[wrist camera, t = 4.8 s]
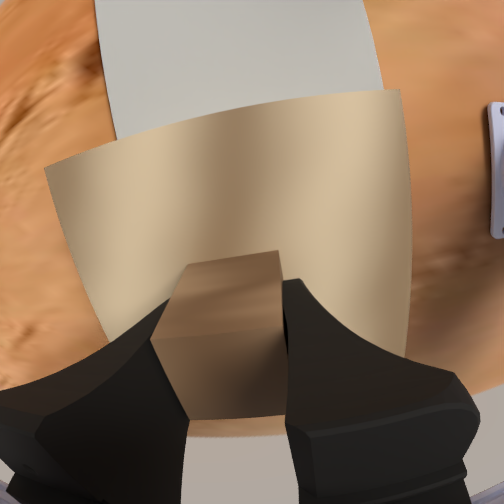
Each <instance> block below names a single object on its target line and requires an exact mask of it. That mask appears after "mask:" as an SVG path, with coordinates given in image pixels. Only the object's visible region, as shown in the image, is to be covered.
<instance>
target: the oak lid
mask: <svg viewBox="0 0 504 504" xmlns="http://www.w3.org/2000/svg"><path fill="white" fill-rule="evenodd" d="M44 170H45V174H46V177H47V181H48V185H49V188H50V192H51V195H52V199H53V202H54V205H55V208H56V212H57V215H58V218H59V221H60V224H61V227H62V230H63V233H64V236H65V239H66V241H67V244H68V247H69V250H70V252H71V255H72V258H73V260H74V263H75V265H76V268H77V271H78V273H79V276H80V278H81V280H82V283H83V285H84V288H85V290H86V292H87V295H88V297H89V299H90V302H91V304H92V306H93V308H94V310H95V313H96V315H97V317H98V319H99V321H100V323H101V325H102V328H103V330H104V332H105V334H106V336H107V338H108V340H109V342H110V343H111V342H112V341H113V340H115V339H116V338H118V337H119V336H120V335H122V334H123V333H124V332H126V331H127V330H128V329H130V328H131V327H133V326H134V325H135V324H136V323H138V322H139V321H140V320H141V319H143V318H144V317H145V316H146V315H148V314H149V313H150V312H152V311H153V310H154V309H155V308H157V307H158V306H159V305H160V304H162V303H163V302H165V301H166V300H167V299H169V298H170V300H169V302H168V304H167V306H166V308H165V310H164V312H163V314H162V316H161V318H160V320H159V322H158V324H157V326H156V328H155V330H154V332H153V334H152V336H151V338H150V341H151V343H152V345H153V347H154V349H155V352H156V354H157V356H158V358H159V360H160V362H161V365H162V367H163V369H164V371H165V373H166V375H167V377H168V379H169V381H170V383H171V385H172V387H173V389H174V391H175V393H176V395H177V397H178V399H179V401H180V403H181V405H182V407H183V408H184V410H185V412H186V414H187V416H188V418H189V420H214V419H237V418H253V417H266V416H276V415H286V404H287V391H288V334H287V328H286V322H285V316H284V310H283V304H282V282H283V281H284V280H290V279H297V278H300V279H301V280H302V281H303V282H304V284H305V285H306V287H307V288H308V290H309V291H310V292H311V293H312V295H313V296H314V297H315V298H316V299H317V300H318V302H319V303H320V304H321V305H322V306H323V307H324V308H325V309H326V310H327V311H328V312H329V313H330V314H331V315H333V316H334V317H335V318H336V319H337V320H338V321H340V322H341V323H342V324H343V325H344V326H346V327H347V328H348V329H350V330H351V331H353V332H354V333H356V334H357V335H358V336H360V337H362V338H363V339H365V340H367V341H369V342H371V343H373V344H374V345H376V346H378V347H380V348H382V349H384V350H386V351H389V352H391V353H393V354H395V355H398V356H401V357H403V358H404V357H405V350H406V341H407V332H408V321H409V309H410V295H411V275H412V202H411V182H410V168H409V156H408V145H407V136H406V128H405V120H404V113H403V106H402V99H401V93H400V89H391V90H371V91H357V92H345V93H334V94H325V95H316V96H308V97H300V98H293V99H286V100H280V101H274V102H268V103H262V104H256V105H251V106H246V107H240V108H236V109H231V110H226V111H221V112H217V113H212V114H208V115H204V116H199V117H195V118H191V119H187V120H183V121H180V122H176V123H172V124H168V125H165V126H161V127H158V128H154V129H151V130H147V131H144V132H141V133H138V134H134V135H131V136H128V137H125V138H122V139H119V140H116V141H113V142H110V143H107V144H104V145H101V146H99V147H96V148H93V149H90V150H88V151H85V152H82V153H80V154H77V155H74V156H72V157H69V158H67V159H64V160H62V161H59V162H57V163H54V164H52V165H50V166H47V167H45V168H44Z"/></svg>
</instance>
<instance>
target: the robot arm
mask: <svg viewBox="0 0 504 504" xmlns="http://www.w3.org/2000/svg"><path fill="white" fill-rule="evenodd" d="M500 108H501V109H502V114H501V113H500ZM487 111H488V120H489V130H490V143H491V162H492V210H491V229H490V232H491V235H492V236H493V237H494V238H495V239H501V238H504V230H503V232H502V229H503V227H504V103H502V102H490V103H489V104H488V108H487ZM169 300H170V298H169V299H167V300H166V301H165V302H163V303H162V304H160V305H159V306H158V307H157V308H155V309H154V310H153V311H152V312H150V313H149V314H148V315H146V316H145V317H144V318H143V319H141V320H140V321H139V322H138V323H136V324H135V325H134V326H133V327H131V328H130V329H128V330H127V331H126V332H124V333H123V334H122V335H120V336H119V337H118V338H116V339H115V340H113V341H112V342H111V343H109V344H108V345H106V346H105V347H103V348H102V349H100V350H98V351H97V352H95V353H93V354H92V355H90V356H88V357H87V358H85V359H83V360H81V361H79V362H77V363H75V364H73V365H71V366H69V367H67V368H65V369H63V370H61V371H59V372H57V373H54V374H52V375H49V376H47V377H44V378H42V379H39V380H36V381H33V382H31V383H28V384H24V385H21V386H17V387H14V388H10V389H6V390H2V391H0V459H1V460H2V461H3V462H4V463H5V464H7V466H8V467H9V468H10V469H12V470H13V471H14V472H15V474H14V476H13V477H12V479H11V481H10V483H9V484H7V483H5V482H3V481H1V480H0V504H181V485H182V473H183V462H184V452H185V444H186V437H187V431H188V426H189V422H190V420H189V418H188V416H187V414H186V412H185V410H184V408H183V407H182V405H181V403H180V401H179V399H178V397H177V395H176V393H175V391H174V389H173V387H172V385H171V383H170V381H169V379H168V377H167V375H166V373H165V371H164V369H163V367H162V365H161V362H160V360H159V358H158V356H157V354H156V352H155V349H154V347H153V345H152V343H151V341H150V338H151V336H152V334H153V332H154V330H155V328H156V326H157V324H158V322H159V320H160V318H161V316H162V314H163V312H164V310H165V308H166V306H167V304H168V302H169ZM282 304H283V310H284V316H285V322H286V328H287V334H288V391H287V404H286V415H285V427H286V431H287V436H288V440H289V445H290V449H291V454H292V459H293V463H294V468H295V472H296V476H297V481H298V486H299V504H504V481H503V482H501V483H499V484H497V485H495V486H493V487H491V488H489V489H487V490H485V491H482V492H480V493H478V494H476V495H473V496H471V497H469V494H468V491H467V488H466V485H465V482H464V478H465V477H466V476H467V470H466V467H465V465H464V462H463V457H464V455H465V453H466V452H467V450H468V448H469V446H470V444H471V443H472V440H473V439H474V437H475V435H476V433H477V430H478V427H479V424H480V412H479V410H478V409H477V407H476V405H475V403H474V401H473V399H472V397H471V396H470V394H469V393H468V391H467V389H466V388H465V387H464V385H463V384H462V383H461V381H460V380H459V379H458V378H457V376H456V375H455V373H454V372H451V371H447V370H443V369H439V368H435V367H431V366H428V365H424V364H420V363H417V362H414V361H411V360H409V359H406V358H403V357H401V356H398V355H395V354H393V353H391V352H389V351H386V350H384V349H382V348H380V347H378V346H376V345H374V344H373V343H371V342H369V341H367V340H365V339H363V338H362V337H360V336H358V335H357V334H356V333H354V332H353V331H351V330H350V329H348V328H347V327H346V326H344V325H343V324H342V323H341V322H340V321H338V320H337V319H336V318H335V317H334V316H333V315H331V314H330V313H329V312H328V311H327V310H326V309H325V308H324V307H323V306H322V305H321V304H320V303H319V302H318V300H317V299H316V298H315V297H314V296H313V295H312V293H311V292H310V291H309V290H308V288H307V287H306V285H305V284H304V282H303V281H302V280H301V279H300V278H297V279H290V280H284V281H283V282H282Z"/></svg>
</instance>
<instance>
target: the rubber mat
mask: <svg viewBox="0 0 504 504" xmlns="http://www.w3.org/2000/svg"><path fill="white" fill-rule="evenodd" d="M95 8H96V18H97V26H98V34H99V42H100V49H101V56H102V62H103V69H104V75H105V80H106V86H107V92H108V97H109V102H110V108H111V113H112V117H113V122H114V127H115V132H116V136H117V140H119V139H122V138H125V137H128V136H131V135H134V134H138V133H141V132H144V131H147V130H151V129H154V128H158V127H161V126H165V125H168V124H172V123H176V122H180V121H183V120H187V119H191V118H195V117H199V116H204V115H208V114H212V113H217V112H221V111H226V110H231V109H236V108H240V107H246V106H251V105H256V104H262V103H268V102H274V101H280V100H286V99H293V98H300V97H308V96H316V95H325V94H334V93H345V92H357V91H371V90H384V88H383V83H382V78H381V73H380V68H379V63H378V59H377V54H376V50H375V45H374V41H373V37H372V33H371V29H370V25H369V22H368V18H367V14H366V11H365V7H364V4H363V1H362V0H95Z"/></svg>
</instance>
